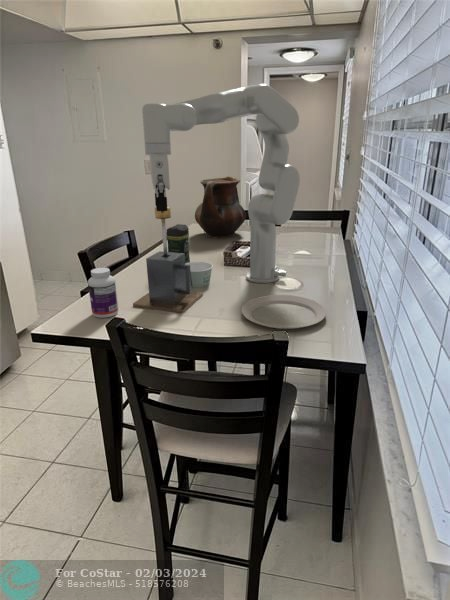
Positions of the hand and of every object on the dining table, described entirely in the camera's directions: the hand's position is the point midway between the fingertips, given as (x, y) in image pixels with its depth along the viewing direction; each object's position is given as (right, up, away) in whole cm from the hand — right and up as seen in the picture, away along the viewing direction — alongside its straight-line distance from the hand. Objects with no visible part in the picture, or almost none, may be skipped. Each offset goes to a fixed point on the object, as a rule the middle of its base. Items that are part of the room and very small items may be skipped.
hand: (161, 208), depth 131 cm
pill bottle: (-18, -33, +2) cm, 37 cm away
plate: (+37, -33, -1) cm, 50 cm away
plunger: (+1, -19, +8) cm, 20 cm away
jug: (+17, +7, +102) cm, 104 cm away
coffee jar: (+1, -16, +43) cm, 46 cm away
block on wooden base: (+1, -29, +12) cm, 31 cm away
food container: (+9, -22, +29) cm, 37 cm away
